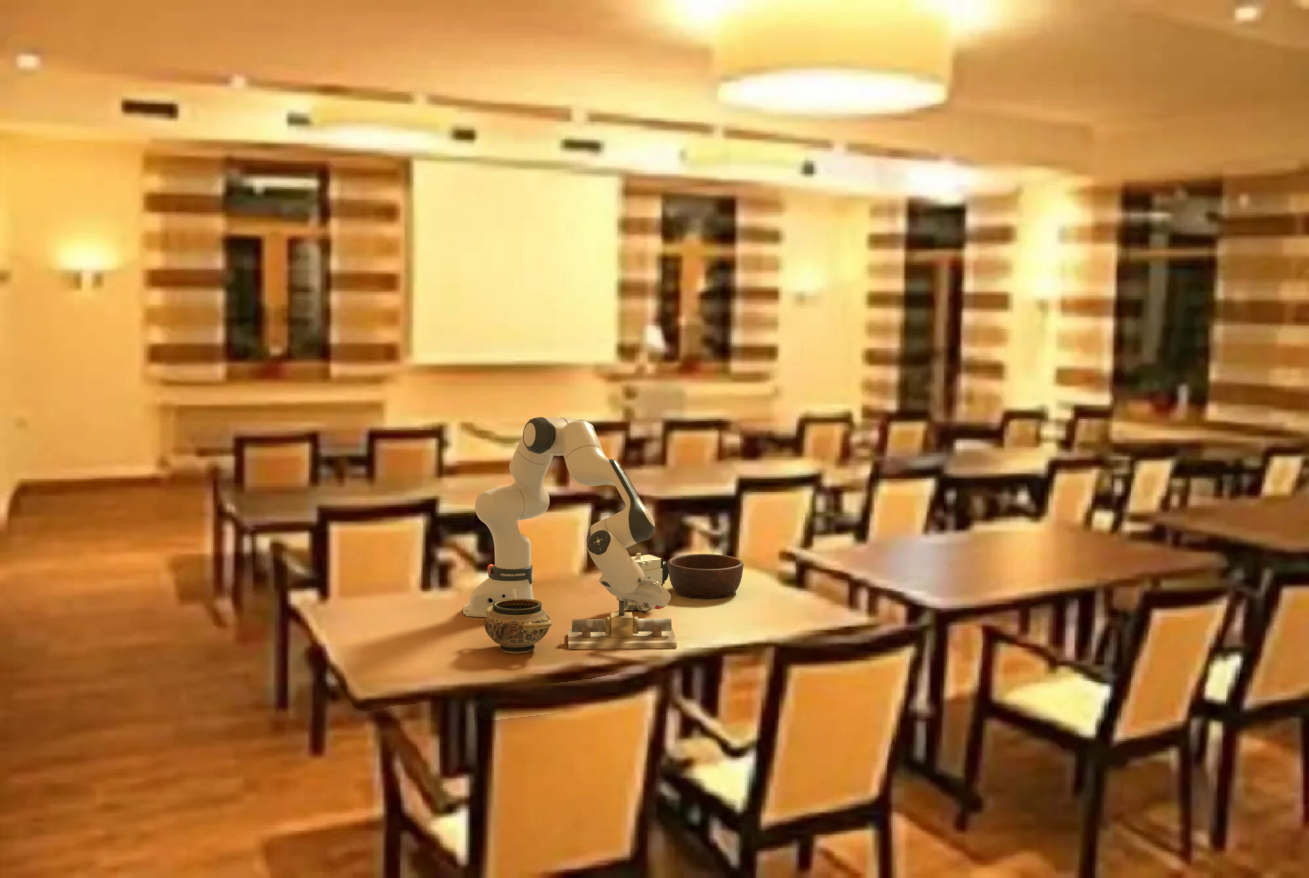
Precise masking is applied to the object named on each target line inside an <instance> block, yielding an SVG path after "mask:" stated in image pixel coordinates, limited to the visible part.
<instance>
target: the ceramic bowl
mask: <svg viewBox="0 0 1309 878" xmlns="http://www.w3.org/2000/svg"><path fill="white" fill-rule="evenodd" d="M542 604H543V603H542V602H541V601H539V600H537V599H534V600H533V599H507V600H501V601H497V602H495V603H493V606H490V607H488V608H487V609H486V614H487V615H486V617H484V623H483V624H484V625H483V627H484V629H485V632H486V634H487V636H488V637H489V638H490V639H491V640H492V641H493V642H494V643H496V644H497V645H500V646H499V649H500V651H501V652H504V653H507V654H525V653H530V652H532V651H533V650H535V649H536V648H535V644H537V643H538V642H540V641H541V640H542V639H543V638H544V637H545V636H546V635H547V633H548V632H549V629H550V627H551V626H553V623H552V621H551V619H550V616H549V614H548V613H547V611H545V610H544V609H543V608H542Z"/></svg>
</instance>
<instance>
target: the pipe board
mask: <svg viewBox="0 0 1309 878" xmlns="http://www.w3.org/2000/svg"><path fill="white" fill-rule="evenodd" d="M625 610H626V609H625V601H618V611H617V612H616V611H613V612H610V616H605V618H594V619H593V618H591V619H590V618H589V619H588V618H587V619H586V618H582V619H581V618H579V619H575V618H574V619H571V628H570V629H569V628H568V629H567V631H568V633H567V634H568V637H567V639H568V642H567V643H568V647H567V648H568V650H575V649H576V650H581V649H582V650H586V649H588V650H589V649H591V650H592V649H593V650H594V649H597V650H598V649H601V650H602V649H603V650H605V649H676V648H677V646H678V645H677V639H676V635H675V633H674V629H673V627H672V618H671V617H670V618H639V616H633V611H632V612H631V611H628V612H627V611H626V612H625Z"/></svg>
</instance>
